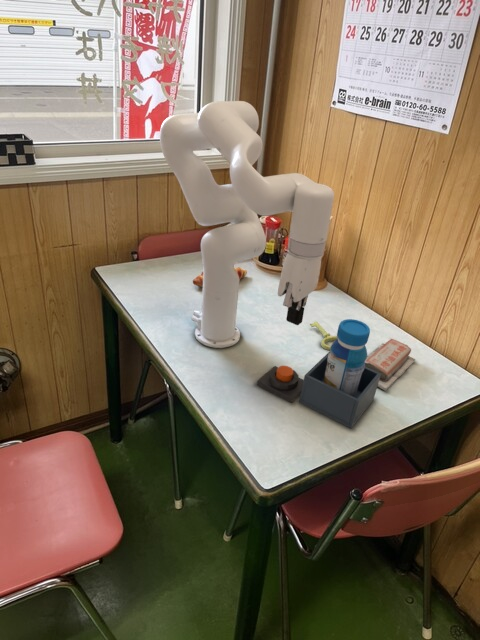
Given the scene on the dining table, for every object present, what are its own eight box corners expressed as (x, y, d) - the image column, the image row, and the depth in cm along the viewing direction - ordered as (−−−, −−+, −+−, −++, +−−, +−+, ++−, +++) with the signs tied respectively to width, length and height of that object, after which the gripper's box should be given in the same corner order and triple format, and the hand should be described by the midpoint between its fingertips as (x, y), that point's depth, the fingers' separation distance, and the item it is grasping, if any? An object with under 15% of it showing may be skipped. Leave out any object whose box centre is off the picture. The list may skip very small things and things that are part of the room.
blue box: (299, 401, 113) (304, 375, 109) (324, 376, 122) (329, 350, 118) (351, 428, 107) (358, 401, 102) (373, 399, 116) (381, 373, 112)
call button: (272, 377, 115) (273, 371, 114) (281, 369, 118) (282, 363, 117) (286, 384, 114) (288, 378, 113) (295, 376, 116) (296, 370, 115)
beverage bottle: (352, 413, 109) (372, 341, 99) (316, 403, 111) (332, 331, 101) (357, 391, 116) (376, 321, 106) (323, 382, 118) (338, 313, 108)
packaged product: (385, 332, 133) (419, 348, 128) (381, 347, 136) (414, 362, 131) (354, 358, 121) (390, 377, 116) (350, 374, 124) (385, 392, 119)
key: (314, 326, 143) (315, 320, 141) (348, 345, 135) (349, 339, 134) (298, 334, 138) (299, 327, 137) (332, 354, 131) (334, 347, 130)
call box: (256, 384, 117) (258, 374, 115) (274, 370, 123) (275, 359, 121) (291, 403, 112) (293, 392, 111) (308, 386, 118) (310, 376, 116)
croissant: (240, 281, 171) (235, 259, 170) (256, 280, 162) (252, 256, 161) (188, 293, 159) (183, 270, 158) (203, 292, 151) (198, 267, 150)
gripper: (307, 231, 105) (296, 304, 115) (271, 250, 95) (261, 328, 104) (338, 241, 102) (324, 315, 111) (304, 262, 91) (291, 342, 100)
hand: (294, 321), depth 108 cm, fingers closed
